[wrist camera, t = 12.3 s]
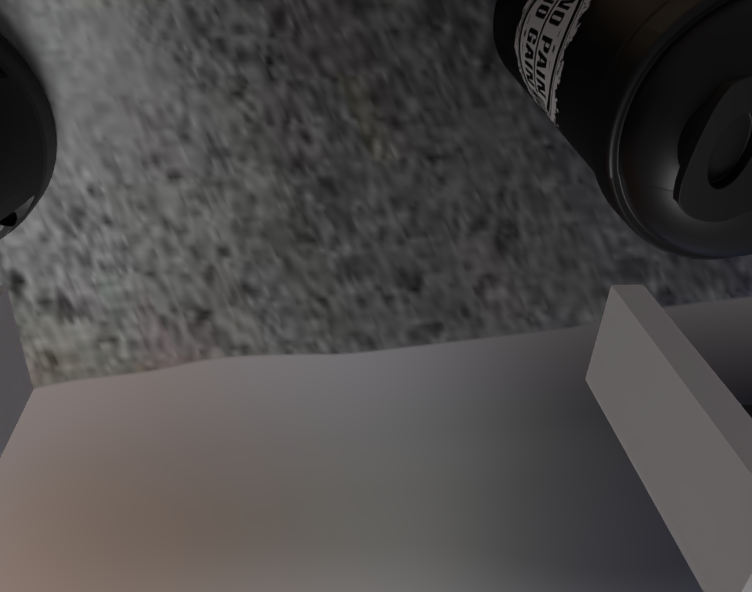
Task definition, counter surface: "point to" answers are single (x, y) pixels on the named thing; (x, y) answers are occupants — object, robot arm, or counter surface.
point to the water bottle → (648, 108)
